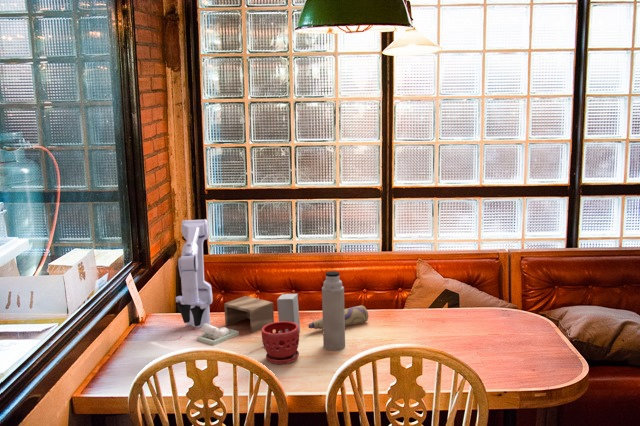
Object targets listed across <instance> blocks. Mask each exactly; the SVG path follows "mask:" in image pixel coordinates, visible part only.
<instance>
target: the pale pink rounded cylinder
mask: <svg viewBox="0 0 640 426" xmlns="http://www.w3.org/2000/svg"><path fill="white" fill-rule="evenodd" d="M222 327H223V328H221V327H220V328H221V329H220V330H218V331H216V332H214V333H213V336H212V338H213V341H214V340H217V339H219V338H222V337H224V336H226V335H229V334H230V333H229V330H228V329H229V328H228V329H227V326H226V327H225V326H222Z"/></svg>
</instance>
